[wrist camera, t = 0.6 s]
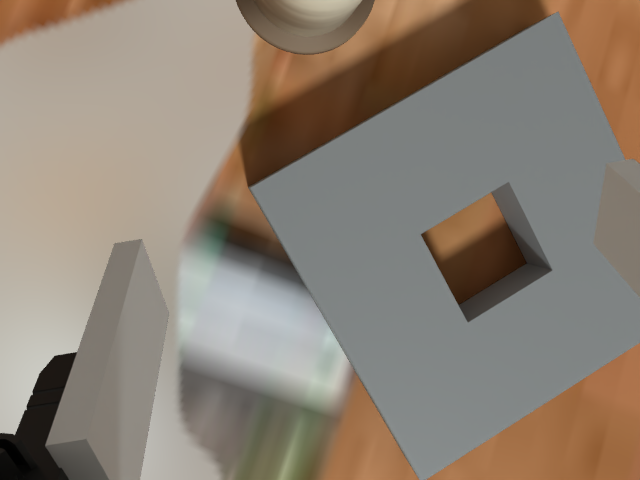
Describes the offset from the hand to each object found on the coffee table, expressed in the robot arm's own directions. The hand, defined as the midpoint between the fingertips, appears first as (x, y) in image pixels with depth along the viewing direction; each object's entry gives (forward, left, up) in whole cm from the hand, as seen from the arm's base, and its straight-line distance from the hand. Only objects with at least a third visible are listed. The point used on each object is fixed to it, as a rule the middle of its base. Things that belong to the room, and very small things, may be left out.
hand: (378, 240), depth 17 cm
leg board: (+7, +8, -18) cm, 21 cm away
